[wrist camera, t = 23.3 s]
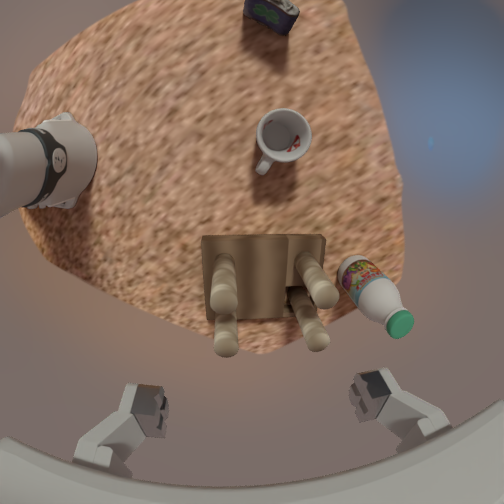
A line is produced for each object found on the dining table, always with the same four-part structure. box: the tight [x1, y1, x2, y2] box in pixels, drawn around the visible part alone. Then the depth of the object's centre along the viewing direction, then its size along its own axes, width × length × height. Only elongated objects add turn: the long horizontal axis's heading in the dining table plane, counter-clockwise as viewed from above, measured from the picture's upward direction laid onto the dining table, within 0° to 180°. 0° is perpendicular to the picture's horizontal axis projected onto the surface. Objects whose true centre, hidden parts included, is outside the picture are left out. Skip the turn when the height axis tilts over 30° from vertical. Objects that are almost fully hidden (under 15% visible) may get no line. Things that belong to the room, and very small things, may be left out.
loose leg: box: [287, 286, 330, 352], centre depth 47 cm, size 4×4×16 cm
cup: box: [256, 108, 312, 175], centre depth 39 cm, size 11×8×8 cm
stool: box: [201, 234, 339, 357], centre depth 44 cm, size 22×16×16 cm
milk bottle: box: [338, 255, 414, 339], centre depth 44 cm, size 8×8×20 cm
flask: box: [243, 0, 300, 36], centre depth 29 cm, size 9×3×11 cm, turn 56°
